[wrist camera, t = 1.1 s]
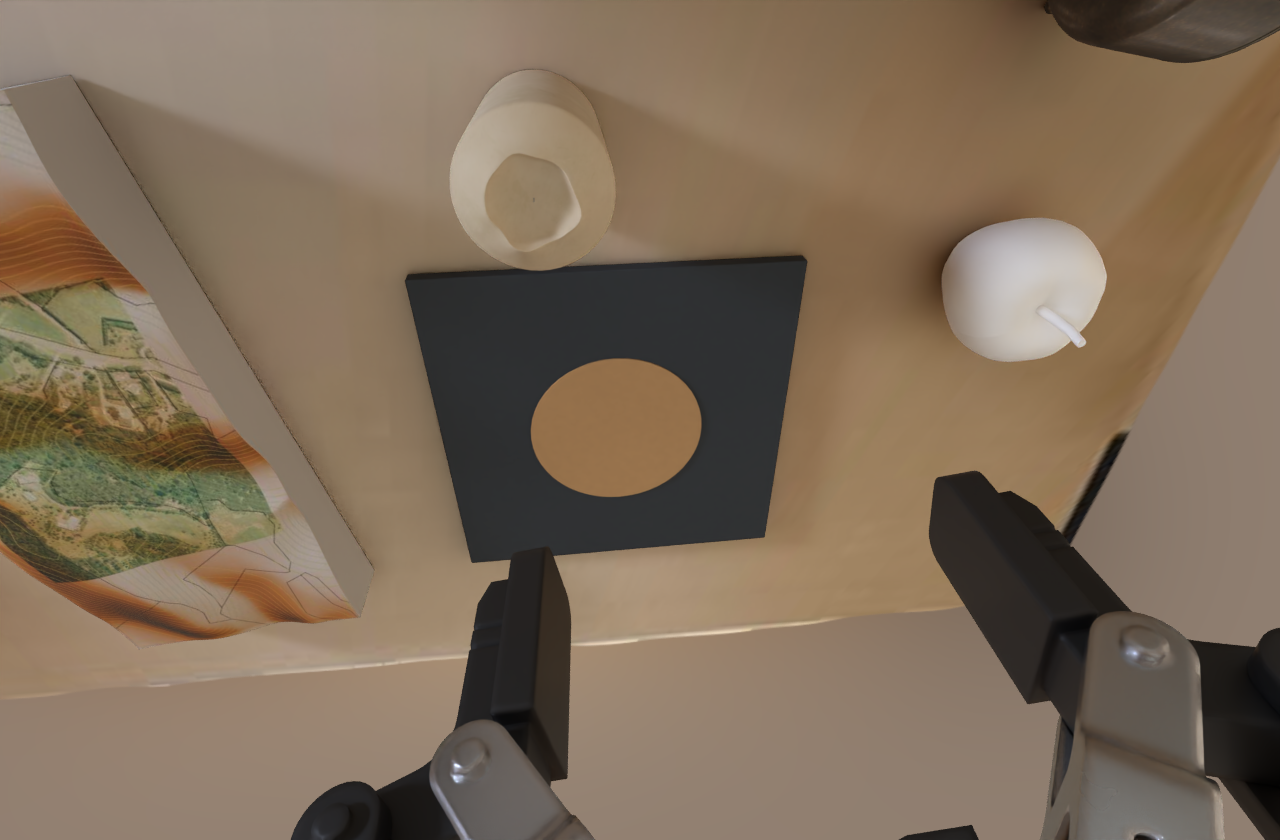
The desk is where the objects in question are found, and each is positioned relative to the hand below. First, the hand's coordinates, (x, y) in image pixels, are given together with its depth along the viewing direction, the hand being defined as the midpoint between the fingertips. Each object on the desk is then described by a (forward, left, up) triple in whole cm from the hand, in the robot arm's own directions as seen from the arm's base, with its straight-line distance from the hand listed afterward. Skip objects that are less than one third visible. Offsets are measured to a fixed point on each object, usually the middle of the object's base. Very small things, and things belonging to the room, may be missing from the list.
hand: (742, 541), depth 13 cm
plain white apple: (+19, -3, -22) cm, 29 cm away
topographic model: (-27, -9, -22) cm, 36 cm away
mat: (-1, -12, -22) cm, 25 cm away
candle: (-4, +4, -22) cm, 22 cm away
